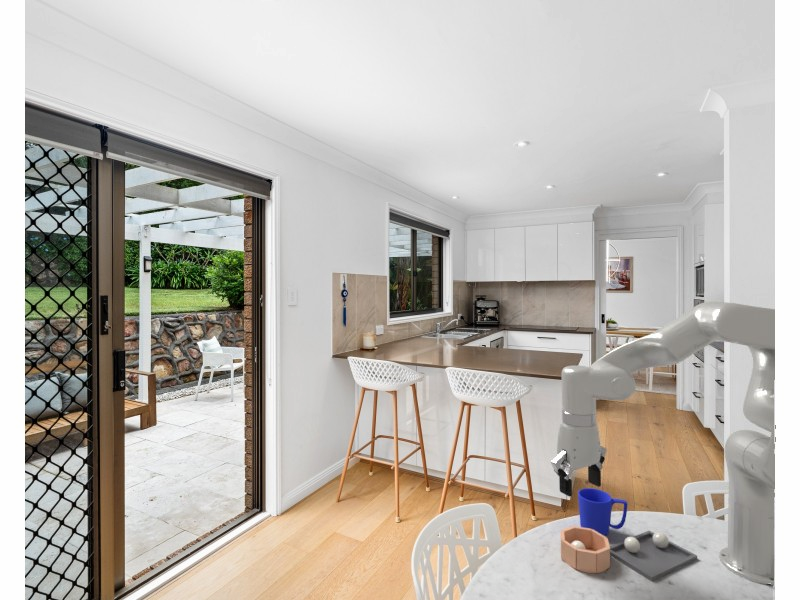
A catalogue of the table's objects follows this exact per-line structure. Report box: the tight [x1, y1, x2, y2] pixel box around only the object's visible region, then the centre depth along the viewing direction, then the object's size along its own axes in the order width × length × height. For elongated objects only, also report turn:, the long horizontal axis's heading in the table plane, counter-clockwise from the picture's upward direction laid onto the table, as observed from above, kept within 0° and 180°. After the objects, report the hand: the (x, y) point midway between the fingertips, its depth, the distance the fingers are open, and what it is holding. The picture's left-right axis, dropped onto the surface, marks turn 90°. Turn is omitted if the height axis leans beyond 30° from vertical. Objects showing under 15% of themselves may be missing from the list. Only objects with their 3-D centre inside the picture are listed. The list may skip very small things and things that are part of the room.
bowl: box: [560, 525, 611, 574], centre depth 104 cm, size 11×11×5 cm
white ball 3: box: [652, 531, 670, 548], centre depth 108 cm, size 4×4×4 cm
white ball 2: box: [623, 536, 640, 553], centre depth 107 cm, size 4×4×4 cm
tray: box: [609, 530, 698, 582], centre depth 105 cm, size 17×12×1 cm
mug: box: [577, 487, 628, 537], centre depth 115 cm, size 8×12×10 cm
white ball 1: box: [571, 541, 586, 550], centre depth 105 cm, size 4×4×4 cm
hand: (580, 489), depth 104 cm, fingers open, 9 cm apart
